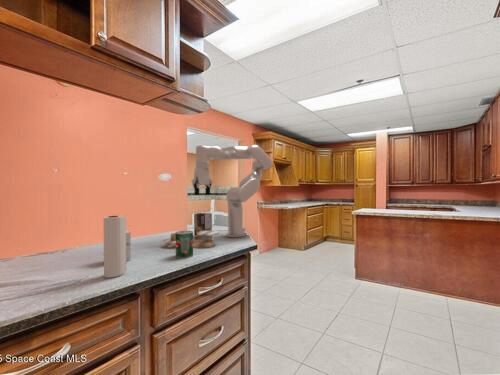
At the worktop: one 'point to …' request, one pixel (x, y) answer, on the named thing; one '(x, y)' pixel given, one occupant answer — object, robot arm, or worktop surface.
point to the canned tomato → (184, 244)
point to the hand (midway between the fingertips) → (202, 194)
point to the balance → (196, 243)
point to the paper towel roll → (114, 246)
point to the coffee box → (202, 224)
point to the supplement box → (128, 246)
